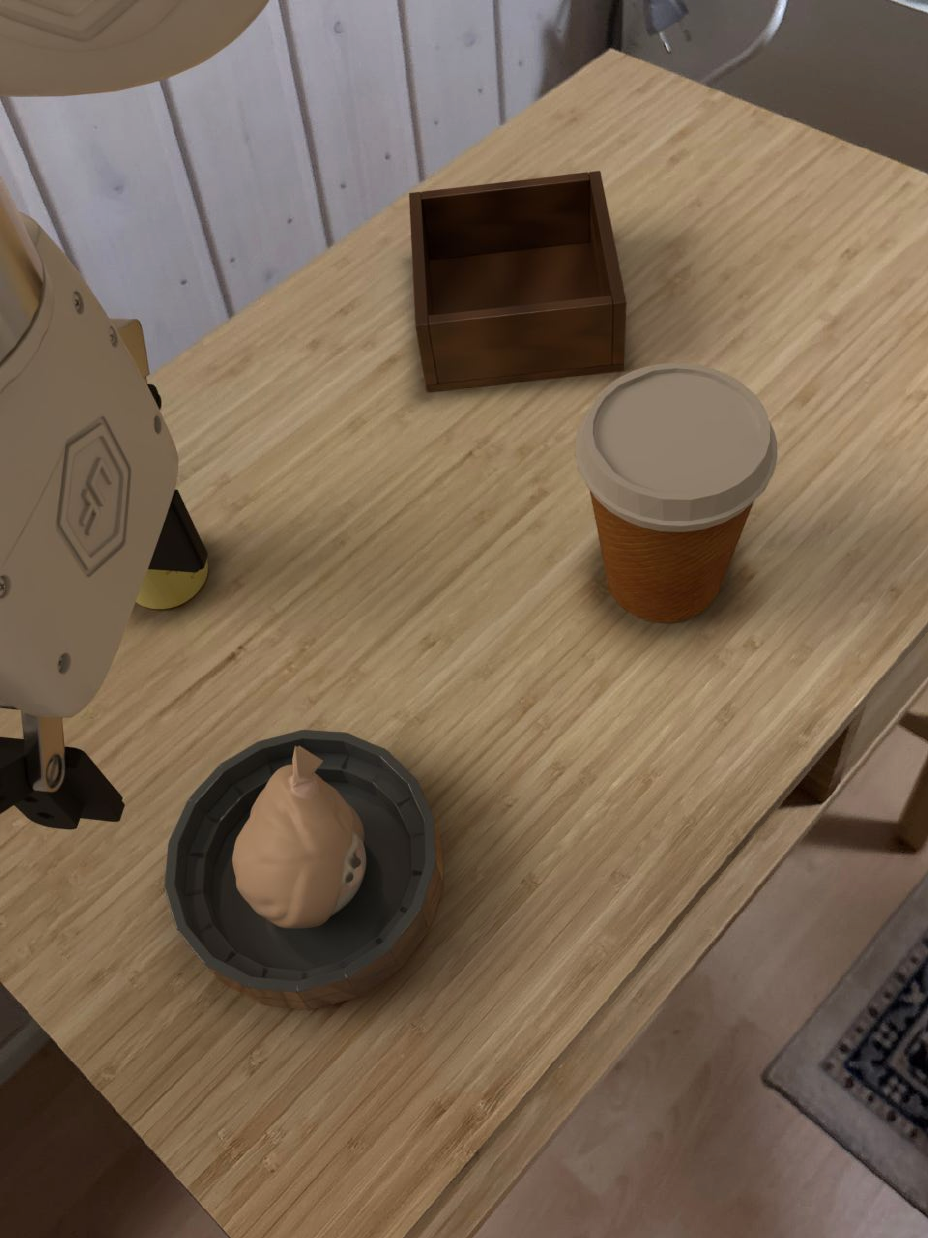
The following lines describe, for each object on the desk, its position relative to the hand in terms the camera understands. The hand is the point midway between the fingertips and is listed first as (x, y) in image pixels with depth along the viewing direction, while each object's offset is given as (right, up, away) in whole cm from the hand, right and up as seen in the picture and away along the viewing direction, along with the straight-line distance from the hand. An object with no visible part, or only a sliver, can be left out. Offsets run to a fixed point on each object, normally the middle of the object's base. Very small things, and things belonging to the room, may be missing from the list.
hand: (126, 678), depth 39 cm
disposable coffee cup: (+23, +4, +25) cm, 34 cm away
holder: (+15, +22, +37) cm, 46 cm away
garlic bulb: (+4, -10, +16) cm, 20 cm away
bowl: (+4, -11, +17) cm, 20 cm away
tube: (-6, +4, +28) cm, 29 cm away
